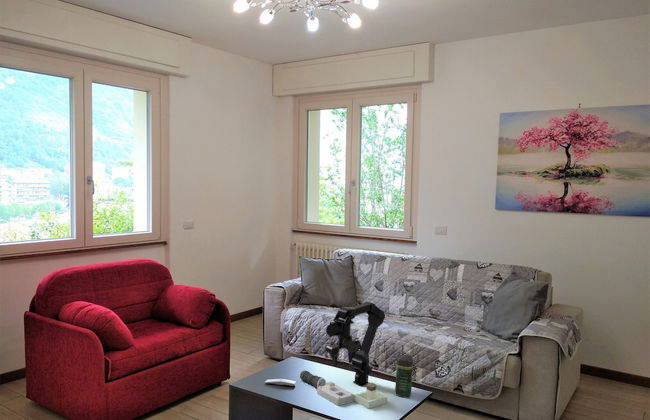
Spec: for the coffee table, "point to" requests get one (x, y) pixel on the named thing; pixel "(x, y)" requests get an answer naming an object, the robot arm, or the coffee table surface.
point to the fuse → (330, 385)
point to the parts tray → (378, 400)
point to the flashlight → (312, 379)
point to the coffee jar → (404, 376)
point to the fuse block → (336, 395)
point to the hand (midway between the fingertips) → (342, 364)
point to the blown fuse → (371, 391)
